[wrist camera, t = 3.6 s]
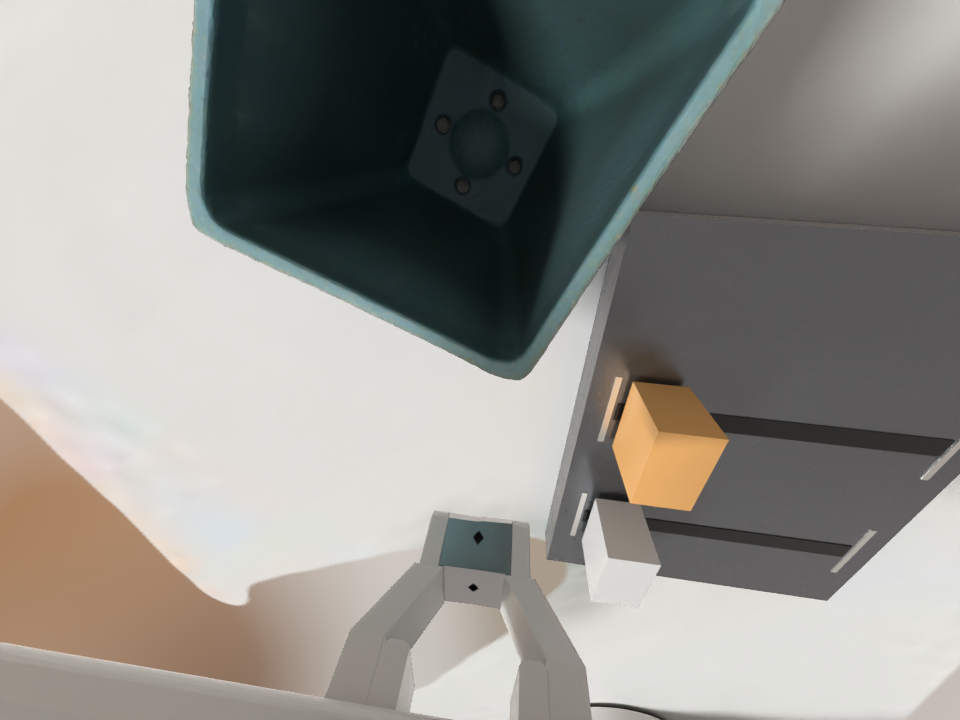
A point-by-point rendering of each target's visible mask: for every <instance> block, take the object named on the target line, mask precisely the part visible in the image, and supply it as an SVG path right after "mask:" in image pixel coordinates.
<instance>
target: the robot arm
mask: <svg viewBox="0 0 960 720" xmlns="http://www.w3.org/2000/svg"><path fill="white" fill-rule="evenodd" d="M444 601H451V602H460V603H468V604H476V605H481V606H487V607H492V608H498V609H500V611H501V614H502V616H503V619H504V621H505V623H506V626H507V628H508V631H509V633H510V636H511V638H512V641H513V643H514V646H515V648H516V651H517V653H518V656H519V658H520V661H521V664H520V665H519V669H518V673H517V677H516V681H515V685H514V689H513V693H512V697H511V701H510V720H660V719H658V718H656V717H653V716H650V715H647V714H644V713H640V712H636V711H631V710H626V709H619V708H610V707H590V699H589V691H588V683H587V675H586V667H585V665H584V664H583V662H582V660H581V658H580V657H579V655H578V653H577V651H576V650H575V648H574V646H573V644H572V643H571V641H570V639H569V637H568V636H567V634H566V632H565V630H564V629H563V627H562V625H561V623H560V622H559V620H558V618H557V616H556V615H555V613H554V611H553V609H552V608H551V606H550V604H549V602H548V601H547V599H546V597H545V595H544V594H543V592H542V590H541V588H540V587H539V585H538V583H537V581H536V580H535V579H531V578H530V530H529V524H528V522H519V521H512V520H505V519H496V518H487V517H475V516H468V515H461V514H454V513H448V512H440V511H434V513H433V515H432V517H431V521H430V525H429V529H428V533H427V537H426V540H425V544H424V548H423V552H422V556H421V559H420V563H414V564H413V565H412V566H411V567H410V568H409V569H408V570H407V571H406V572H405V573H404V574H403V575H402V577H401V578H400V579H399V580H398V581H397V582H396V583H395V584H394V585H393V586H392V587H391V588H390V589H389V590H388V591H387V592H386V593H385V594H384V595H383V596H382V597H381V598H380V599H379V601H378V602H377V603H376V604H375V605H374V606H373V607H372V608H371V609H370V610H369V611H368V612H367V613H366V614H365V615H364V616H363V617H362V618H361V619H360V620H359V621H358V622H357V623H356V625H355V626H354V627H353V628H352V629H351V630H350V632H349V635H348V638H347V640H346V643H345V645H344V648H343V651H342V653H341V656H340V659H339V662H338V664H337V667H336V669H335V672H334V675H333V677H332V680H331V683H330V685H329V688H328V691H327V693H326V696H325V698H323V697H317V696H311V695H305V694H299V693H293V692H288V691H282V690H276V689H270V688H264V687H259V686H253V685H247V684H241V683H235V682H230V681H223V680H218V679H212V678H206V677H201V676H195V675H188V674H183V673H177V672H171V671H166V670H160V669H154V668H148V667H142V666H137V665H131V664H125V663H118V662H113V661H107V660H102V659H96V658H90V657H83V656H78V655H72V654H66V653H61V652H54V651H49V650H43V649H37V648H32V647H26V646H20V645H15V644H10V643H2V642H0V720H451V719H445V718H439V717H434V716H428V715H422V714H416V713H410V706H411V701H412V696H413V691H414V686H415V685H414V677H413V669H412V662H411V655H410V649H411V648H412V647H413V645H414V644H415V642H416V641H417V640H418V638H419V637H420V636H421V634H422V633H423V631H424V630H425V628H426V627H427V626H428V624H429V623H430V621H431V620H432V619H433V617H434V616H435V615H436V613H437V612H438V610H439V609H440V608H441V606H442V605H443V604H444Z"/></svg>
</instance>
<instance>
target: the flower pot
mask: <svg viewBox="0 0 960 720" xmlns="http://www.w3.org/2000/svg"><path fill="white" fill-rule="evenodd" d="M784 1H785V0H194V20H193V23H192V24H193V30H192V60H191V74H190V87H189V95H188V97H189V118H188V146H187V155H186V158H187V164H186V194H187V202H188V207H189V211H190V216H191V220H192V223H193V226H194V227H195V228H196V229H197V230H198V231H199V232H201V233H203V234H204V235H206V236H208V237H210V238H211V239H213V240H215V241H217V242H219V243H221V244H223V245H224V246H225V247H228V248H230V249H233V250H236V251H238V252H240V253H242V254H244V255H246V256H248V257H250V258H251V259H253V260H255V261H258V262H261V263H263V264H265V265H267V266H269V267H271V268H273V269H275V270H277V271H279V272H282V273H284V274H286V275H288V276H291V277H294V278H296V279H298V280H300V281H301V282H303V283H306V284H309V285H311V286H313V287H315V288H318V289H319V290H321V291H323V292H325V293H327V294H330V295H332V296H334V297H336V298H338V299H341V300H343V301H345V302H346V303H349V304H351V305H353V306H355V307H356V308H359V309H361V310H363V311H365V312H367V313H369V314H371V315H373V316H375V317H378V318H380V319H382V320H384V321H386V322H388V323H390V324H393V325H394V326H396V327H399V328H401V329H402V330H404V331H406V332H409V333H411V334H413V335H415V336H417V337H419V338H421V339H424V340H426V341H428V342H429V343H431V344H433V345H435V346H437V347H439V348H442V349H444V350H446V351H447V352H449V353H451V354H454V355H455V356H457V357H459V358H461V359H463V360H465V361H467V362H469V363H471V364H473V365H475V366H477V367H479V368H480V369H482V370H484V371H486V372H488V373H490V374H493V375H495V376H498V377H501V378H505V379H512V380H521V379H523V378H524V377H526V376H527V375H528V374H529V373H530V372H531V371H532V369H533V368H534V366H535V365H536V364H537V362H538V361H539V359H540V358H541V356H542V355H543V354H544V352H545V351H546V349H547V347H548V345H549V344H550V342H551V341H552V339H553V338H554V337H555V335H556V334H557V332H558V330H559V329H560V328H561V326H562V324H563V323H564V321H565V320H566V318H567V317H568V315H569V314H570V313H571V311H572V310H573V308H574V307H575V305H576V304H577V302H578V300H579V298H580V297H581V295H582V294H583V292H584V291H585V289H586V288H587V287H588V286H589V284H590V282H591V281H592V279H593V278H594V276H595V275H596V273H597V271H598V269H599V268H600V267H601V266H602V264H603V263H604V261H605V260H606V258H607V257H608V255H609V254H610V253H611V251H612V250H613V248H614V246H615V244H616V243H617V242H618V241H619V240H620V239H621V237H622V235H623V234H624V232H625V231H626V229H627V228H628V226H629V224H630V223H631V221H632V220H633V218H634V217H635V215H636V214H637V212H638V211H639V209H640V208H641V207H642V205H643V203H644V202H645V200H646V199H647V197H648V196H649V194H650V193H651V192H652V190H653V189H654V187H655V186H656V184H657V182H658V181H659V179H660V178H661V177H662V176H663V175H664V173H665V172H666V170H667V169H668V167H669V165H670V164H671V162H672V161H673V160H674V159H675V157H676V155H677V154H678V152H679V151H680V150H681V149H682V147H683V146H684V144H685V143H686V141H687V140H688V138H689V136H690V135H691V134H692V132H693V131H694V130H695V128H696V127H697V125H698V124H699V122H700V121H701V119H702V118H703V117H704V115H705V113H706V112H707V110H708V109H709V108H710V106H711V105H712V104H713V103H714V101H715V99H716V98H717V96H718V95H719V93H720V92H721V90H722V89H723V88H724V87H725V86H726V85H727V83H728V81H729V79H730V78H731V76H732V75H733V73H734V72H735V71H736V69H737V68H738V67H739V65H740V64H741V63H742V62H743V60H744V59H745V58H746V57H747V55H748V54H749V52H750V51H751V50H752V48H753V47H754V45H755V44H756V42H757V41H758V40H759V38H760V37H761V35H762V34H763V32H764V31H765V30H766V28H767V27H768V25H769V24H770V22H771V21H772V20H773V18H774V17H775V15H776V14H777V13H778V11H779V10H780V8H781V7H782V5H783V3H784ZM495 94H499V95H501V96H502V97H503V98H504V105H503V107H502V108H501V109H500V110H495V109H493V108H492V106H491V99H492V97H493V95H495ZM442 117H445V118H447V120H448V121H449V124H450V128H449V131H448V132H447V133H440V132H439V131H438V129H437V121H438V120H439V119H440V118H442ZM512 160H518V162H519V163H520V170H519V171H518V173H516V174H512V173H510V172H509V170H508V164H509V163H510V162H511V161H512ZM461 179H465V180H466V181H467V182H468V184H469V189H468V191H467V192H465V193H461V192H460V191H458V189H457V183H458V181H459V180H461Z"/></svg>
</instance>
